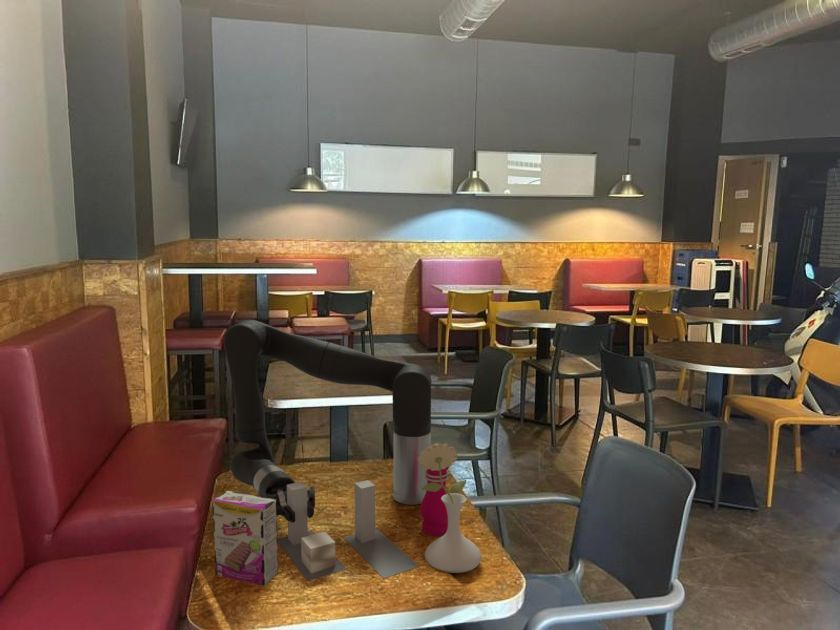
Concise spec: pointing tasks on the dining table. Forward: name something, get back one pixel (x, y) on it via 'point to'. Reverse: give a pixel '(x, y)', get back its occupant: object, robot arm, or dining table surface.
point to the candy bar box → (245, 537)
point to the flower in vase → (449, 517)
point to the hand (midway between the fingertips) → (302, 515)
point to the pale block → (318, 552)
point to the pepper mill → (435, 505)
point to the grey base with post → (375, 536)
